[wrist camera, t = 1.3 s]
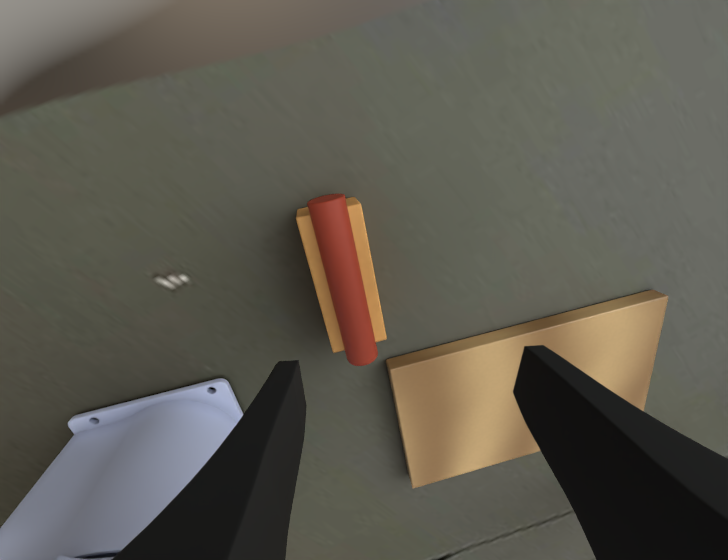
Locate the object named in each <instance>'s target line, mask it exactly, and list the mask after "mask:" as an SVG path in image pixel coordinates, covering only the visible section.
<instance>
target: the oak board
mask: <svg viewBox="0 0 728 560" xmlns="http://www.w3.org/2000/svg"><path fill="white" fill-rule="evenodd" d="M667 301H668V296H667V295H665V294H662V293H660V292H658V291H655V290H649V291H645V292H641V293H637V294H633V295H629V296H626V297H622V298H618V299H614V300H610V301H607V302H603V303H599V304H595V305H591V306H588V307H584V308H580V309H576V310H572V311H569V312H565V313H561V314H557V315H553V316H550V317H546V318H542V319H538V320H534V321H531V322H527V323H523V324H519V325H515V326H511V327H508V328H504V329H500V330H496V331H492V332H489V333H485V334H481V335H477V336H473V337H470V338H466V339H462V340H458V341H454V342H451V343H447V344H443V345H439V346H435V347H432V348H428V349H424V350H420V351H416V352H413V353H409V354H405V355H401V356H397V357H393V358H390V359H387V360H386V364H387V369H388V374H389V379H390V384H391V389H392V394H393V399H394V404H395V409H396V414H397V419H398V424H399V429H400V434H401V439H402V444H403V449H404V454H405V459H406V464H407V469H408V474H409V478H410V481H411V484H412V487H413V488H416V487H419V486H423V485H426V484H430V483H433V482H436V481H440V480H443V479H446V478H450V477H453V476H457V475H460V474H463V473H467V472H470V471H474V470H477V469H480V468H484V467H487V466H491V465H494V464H497V463H501V462H504V461H507V460H511V459H514V458H518V457H521V456H524V455H528V454H531V453H535V452H538V451H541V450H540V448H539V447H538V445H537V443H536V441H535V439H534V438H533V436H532V434H531V432H530V430H529V429H528V427H527V425H526V423H525V421H524V419H523V416H522V414H521V412H520V409H519V407H518V404H517V402H516V399H515V397H514V394H513V389H514V385H515V381H516V377H517V373H518V369H519V365H520V361H521V357H522V354H523V350H524V346H535V345H544V346H546V347H547V348H549V349H550V350H552V351H553V352H555V353H556V354H558V355H559V356H561V357H562V358H564V359H565V360H567V361H568V362H570V363H571V364H573V365H574V366H575V367H577V368H578V369H580V370H581V371H583V372H584V373H586V374H587V375H589V376H590V377H591V378H593V379H594V380H596V381H597V382H599V383H600V384H602V385H603V386H605V387H606V388H608V389H609V390H611V391H612V392H614V393H615V394H617V395H618V396H620V397H621V398H623V399H625V400H626V401H628V402H629V403H631V404H632V405H634V406H636V407H637V408H639V409H640V410H642V411H644V406H645V402H646V397H647V393H648V388H649V384H650V379H651V374H652V370H653V365H654V361H655V356H656V351H657V347H658V342H659V338H660V333H661V328H662V324H663V319H664V315H665V310H666V305H667Z"/></svg>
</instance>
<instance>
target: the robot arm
mask: <svg viewBox="0 0 728 560" xmlns="http://www.w3.org/2000/svg"><path fill="white" fill-rule="evenodd" d="M209 387H213V388H215V390H212V389H210V388H209ZM513 394H514V397H515V399H516V402H517V404H518V407H519V409H520V412H521V414H522V416H523V419H524V421H525V423H526V425H527V427H528V429H529V430H530V432H531V434H532V436H533V438H534V439H535V441H536V443H537V445H538V447H539V448H540V450H541V452H542V454H543V455H544V457H545V459H546V461H547V462H548V464H549V466H550V468H551V469H552V471H553V473H554V475H555V477H556V478H557V480H558V482H559V484H560V485H561V487H562V489H563V491H564V492H565V494H566V496H567V498H568V500H569V502H570V504H571V506H572V508H573V509H574V511H575V513H576V516H577V518H578V520H579V522H580V524H581V526H582V529H583V531H584V533H585V535H586V537H587V540H588V542H589V544H590V546H591V548H592V550H593V553H594V555H595V557H596V560H728V459H727V458H725V457H723V456H721V455H719V454H717V453H716V452H714V451H712V450H710V449H708V448H706V447H704V446H703V445H701V444H699V443H697V442H695V441H693V440H692V439H690V438H688V437H686V436H684V435H683V434H681V433H679V432H677V431H675V430H674V429H672V428H670V427H669V426H667V425H665V424H663V423H662V422H660V421H658V420H657V419H655V418H653V417H652V416H650V415H649V414H647V413H645V412H644V411H642V410H640V409H639V408H637V407H636V406H634V405H632V404H631V403H629V402H628V401H626V400H625V399H623V398H621V397H620V396H618V395H617V394H615V393H614V392H612V391H611V390H609V389H608V388H606V387H605V386H603V385H602V384H600V383H599V382H597V381H596V380H594V379H593V378H591V377H590V376H589V375H587V374H586V373H584V372H583V371H581V370H580V369H578V368H577V367H575V366H574V365H573V364H571V363H570V362H568V361H567V360H565V359H564V358H562V357H561V356H559V355H558V354H556V353H555V352H553V351H552V350H550V349H549V348H547V347H546V346H544V345H535V346H524V350H523V354H522V357H521V361H520V365H519V369H518V373H517V377H516V381H515V385H514V389H513ZM95 418H97V419H95ZM305 418H306V401H305V395H304V389H303V384H302V378H301V372H300V366H299V360H295V361H279V362H278V363H277V364H276V365H275V367H274V369H273V370H272V372H271V374H270V375H269V377H268V379H267V380H266V382H265V383H264V385H263V387H262V388H261V390H260V391H259V393H258V394H257V396H256V397H255V399H254V400H253V402H252V403H251V405H250V406H249V407H248V409H247V410H246V412H245V413H244V415H243V412H242V410H241V408H240V406H239V404H238V402H237V399H236V397H235V395H234V393H233V391H232V388H231V386H230V384H229V382H228V381H227V380H225V379H223V378H219V379H214V380H210V381H206V382H203V383H199V384H195V385H191V386H187V387H183V388H179V389H175V390H171V391H168V392H164V393H160V394H156V395H152V396H148V397H144V398H140V399H136V400H133V401H129V402H125V403H121V404H117V405H113V406H109V407H105V408H101V409H98V410H94V411H90V412H86V413H82V414H78V415H75V416H73V417H72V418H71V419H70V420H69V422H68V427H69V428H70V429H71V431H72V432H73V433H74V435H73V437H72V438H71V439H70V440H69V442H68V443H67V444H66V446H65V447H64V448H63V449H62V451H61V452H60V453H59V454H58V456H57V457H56V458H55V459H54V461H53V462H52V463H51V465H50V466H49V467H48V468H47V470H46V471H45V472H44V473H43V475H42V476H41V477H40V478H39V480H38V481H37V482H36V484H35V485H34V486H33V487H32V489H31V490H30V491H29V492H28V494H27V495H26V496H25V497H24V499H23V500H22V501H21V503H20V504H19V505H18V506H17V508H16V509H15V510H14V511H13V513H12V514H11V515H10V516H9V518H8V519H7V520H6V522H5V523H4V524H3V525H2V527H1V528H0V560H285V556H286V546H287V535H288V528H289V521H290V514H291V509H292V503H293V498H294V492H295V486H296V481H297V475H298V470H299V464H300V459H301V453H302V447H303V441H304V432H305Z"/></svg>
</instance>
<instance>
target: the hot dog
mask: <svg viewBox="0 0 728 560" xmlns="http://www.w3.org/2000/svg"><path fill="white" fill-rule="evenodd" d="M307 205H308V207H306V208H301V209H298V210H297V215H296V221H297V225H298V228H299V232H300V235H301V239H302V243H303V246H304V250H305V253H306V257H307V261H308V264H309V268H310V271H311V275H312V279H313V282H314V286H315V289H316V293H317V297H318V300H319V304H320V307H321V311H322V315H323V318H324V322H325V325H326V329H327V333H328V336H329V340H330V343H331V347H332V351H333V352H334V353H336V352H340V351H343V350H345V352H346V356H347V360H348V361H349V363H351V364H352V365H355V366H363V365H367V364H369V363H371V362H373V361H374V360H375V359H376V357H377V354H378V351H377V347H376V342H378V341H382V340H386V338H387V337H386V332H385V326H384V321H383V316H382V311H381V306H380V300H379V295H378V290H377V285H376V279H375V274H374V269H373V264H372V258H371V253H370V248H369V243H368V238H367V232H366V227H365V222H364V217H363V211H362V206H361V204H360V202H359V201H358V200H357V199H356V198H355V197H351V198H345V195H344V194H331V195H325V196H321V197H318V198H315V199H312V200H310V201H309V202H308V203H307Z"/></svg>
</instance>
